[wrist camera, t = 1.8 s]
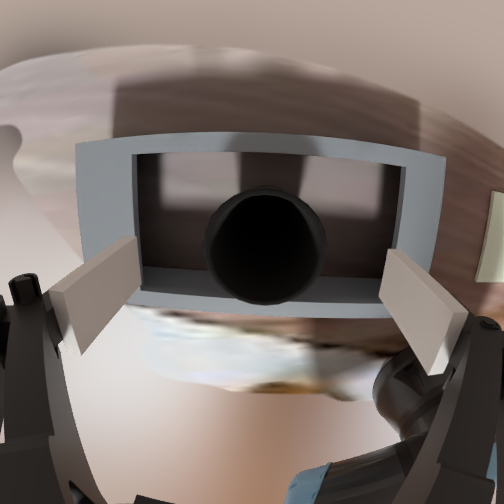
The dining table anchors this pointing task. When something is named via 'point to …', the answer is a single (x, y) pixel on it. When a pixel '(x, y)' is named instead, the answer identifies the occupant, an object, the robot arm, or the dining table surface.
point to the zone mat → (493, 243)
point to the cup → (265, 246)
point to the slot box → (126, 149)
